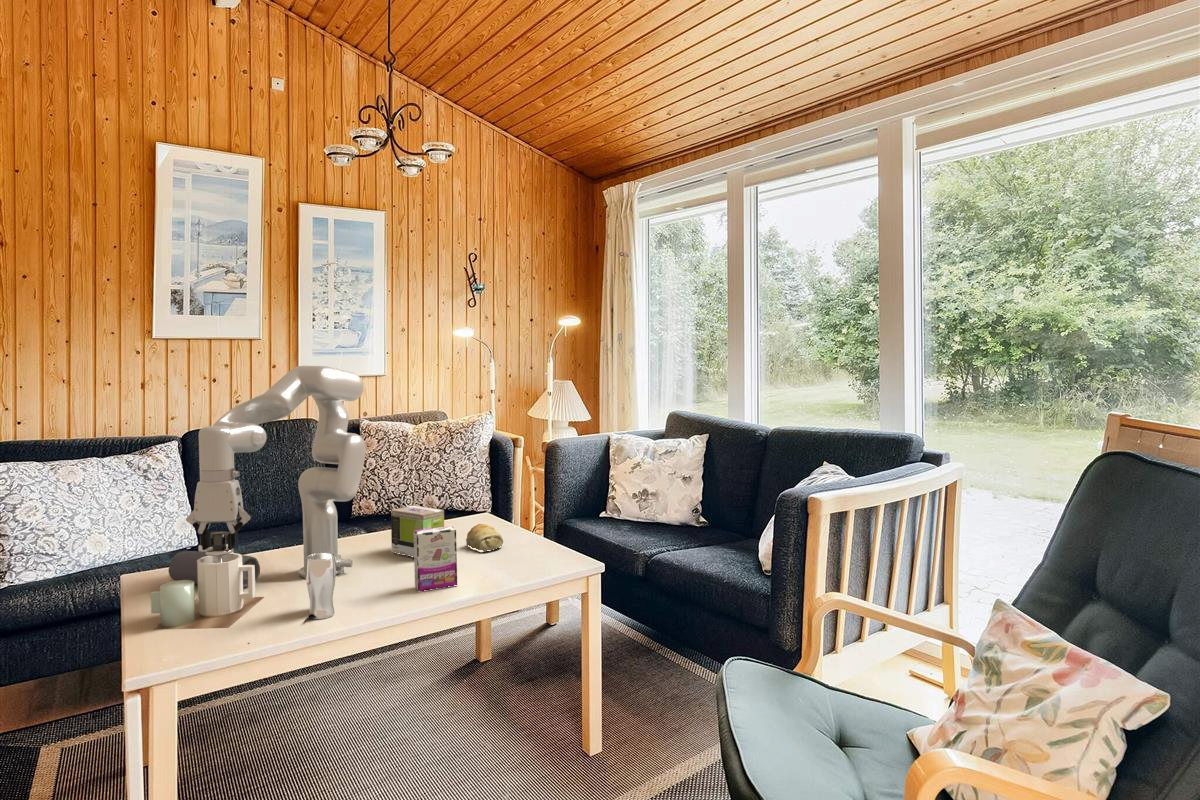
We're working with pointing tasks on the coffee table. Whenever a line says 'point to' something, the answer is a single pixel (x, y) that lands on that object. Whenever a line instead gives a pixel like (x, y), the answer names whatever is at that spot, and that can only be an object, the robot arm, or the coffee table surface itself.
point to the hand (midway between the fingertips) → (219, 547)
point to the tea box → (412, 525)
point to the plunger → (218, 546)
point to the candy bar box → (435, 558)
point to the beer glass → (321, 584)
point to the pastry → (484, 538)
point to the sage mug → (174, 603)
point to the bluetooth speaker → (186, 566)
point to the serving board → (216, 621)
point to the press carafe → (223, 584)
